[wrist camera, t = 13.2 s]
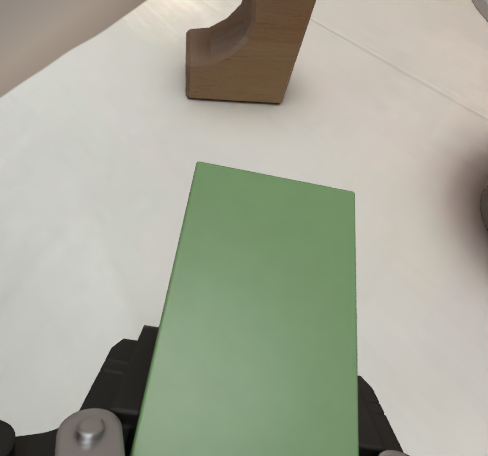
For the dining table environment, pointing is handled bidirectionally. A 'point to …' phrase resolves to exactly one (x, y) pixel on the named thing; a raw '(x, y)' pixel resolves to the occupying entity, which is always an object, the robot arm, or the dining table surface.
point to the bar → (257, 324)
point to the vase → (482, 7)
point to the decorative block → (247, 52)
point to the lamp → (484, 206)
